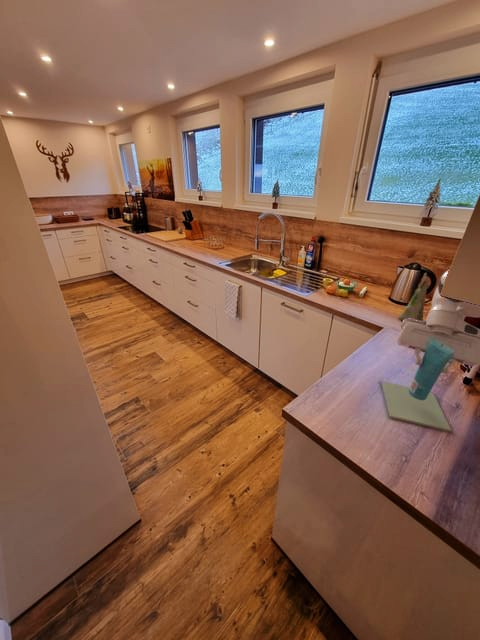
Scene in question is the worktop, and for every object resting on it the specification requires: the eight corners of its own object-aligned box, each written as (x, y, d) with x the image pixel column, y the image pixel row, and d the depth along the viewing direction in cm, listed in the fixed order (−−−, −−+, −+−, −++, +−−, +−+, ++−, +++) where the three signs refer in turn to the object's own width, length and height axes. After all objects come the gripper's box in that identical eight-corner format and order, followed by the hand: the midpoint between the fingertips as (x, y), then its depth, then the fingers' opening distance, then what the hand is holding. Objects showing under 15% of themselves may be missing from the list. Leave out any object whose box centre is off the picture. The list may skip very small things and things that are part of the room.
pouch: (408, 327, 130) (428, 279, 118) (392, 316, 140) (408, 271, 128) (427, 326, 132) (448, 279, 120) (409, 315, 142) (427, 270, 130)
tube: (433, 401, 80) (462, 349, 71) (422, 405, 78) (449, 352, 69) (411, 385, 86) (435, 335, 77) (401, 388, 84) (423, 338, 75)
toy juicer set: (324, 295, 162) (326, 283, 158) (321, 285, 177) (323, 274, 174) (373, 300, 157) (376, 288, 154) (366, 289, 173) (369, 278, 169)
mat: (432, 394, 89) (433, 392, 89) (450, 432, 75) (451, 430, 75) (381, 383, 93) (381, 381, 92) (389, 417, 79) (390, 415, 79)
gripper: (406, 312, 81) (393, 353, 78) (490, 333, 72) (478, 380, 69) (402, 319, 86) (389, 358, 84) (479, 339, 77) (468, 383, 75)
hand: (430, 368), depth 76 cm, fingers closed on tube, 5 cm apart
